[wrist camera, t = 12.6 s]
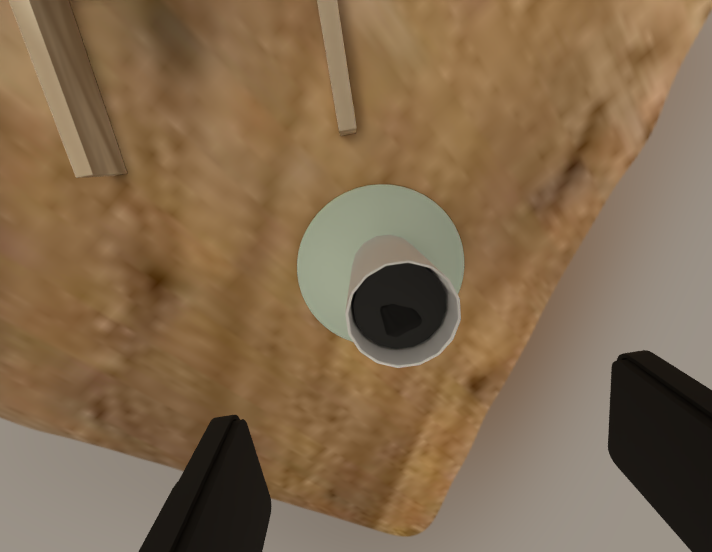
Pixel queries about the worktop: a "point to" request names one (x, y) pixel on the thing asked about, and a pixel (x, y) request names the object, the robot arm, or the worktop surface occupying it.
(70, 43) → the frame
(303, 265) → the disc
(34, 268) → the worktop surface
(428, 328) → the white coffee cup
